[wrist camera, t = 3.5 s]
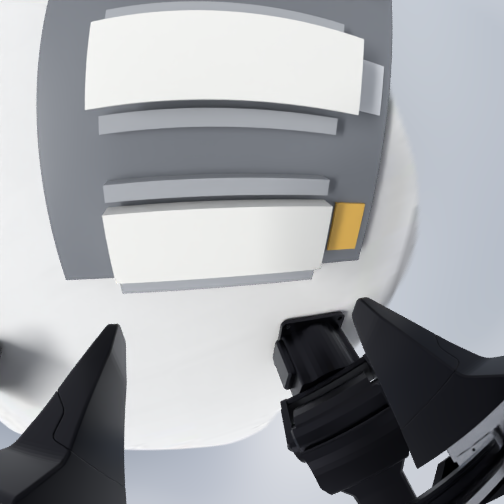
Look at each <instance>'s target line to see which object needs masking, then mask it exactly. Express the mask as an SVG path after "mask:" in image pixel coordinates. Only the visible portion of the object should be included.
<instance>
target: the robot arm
mask: <svg viewBox="0 0 504 504" xmlns="http://www.w3.org/2000/svg"><path fill="white" fill-rule="evenodd" d="M352 319H353V322H354V325H355V327H356V330H357V333H358V335H359V338H360V341H361V343H362V346H363V348H364V351H365V353H366V354H364V355H363V357H361V358H359V356H358V355H357V353H356V352H355V350H354V348H353V347H352V345H351V344H350V342H349V340H348V339H347V337H346V336H345V334H344V333H343V331H342V329H341V325H342V322H343V320H344V315H343V313H342V312H336V313H331V314H325V315H319V316H313V317H306V318H300V319H293V320H286V321H284V322H282V323H281V326H280V332H279V337H278V340H277V341H276V343H275V348H274V354H273V360H274V364H275V366H276V368H277V371H278V373H279V376H280V379H281V381H282V384H283V387H284V388H285V389H286V390H288V389H290V390H291V392H292V395H293V397H291V398H289V399H285V400H282V401H281V402H280V403H281V408H282V409H281V413H282V418H283V423H284V429H285V434H286V440H287V447H288V449H289V450H290V451H292V452H294V454H295V455H296V457H297V458H298V459H299V460H300V461H301V462H304V463H305V462H306V463H307V464H308V465H309V467H310V469H311V470H312V472H313V474H314V476H315V478H316V480H317V482H318V484H319V486H320V488H321V489H322V490H324V491H326V492H327V493H329V494H331V495H333V494H335V493H338V492H340V491H341V492H344V493H346V494H349V495H351V496H353V497H354V498H355V500H356V501H357V502H358V504H486V503H488V502H490V501H492V500H494V499H497V498H498V497H500V496H502V495H504V356H500V357H494V358H485V357H481V356H478V355H476V354H474V353H472V352H470V351H467V350H465V349H463V348H461V347H459V346H457V345H455V344H453V343H451V342H449V341H447V340H445V339H443V338H441V337H439V336H438V335H435V334H434V333H432V332H430V331H429V330H427V329H425V328H423V327H421V326H419V325H418V324H416V323H414V322H412V321H410V320H408V319H407V318H405V317H403V316H401V315H399V314H397V313H395V312H394V311H392V310H390V309H388V308H386V307H384V306H383V305H381V304H379V303H377V302H375V301H373V300H371V299H370V298H367V297H364V298H359V299H358V300H357V301H356V304H355V307H354V310H353V313H352ZM373 379H374V380H373ZM371 380H373V381H372V382H370V381H371ZM126 385H127V380H126V343H125V339H124V336H123V333H122V330H121V327H120V325H119V324H108V325H107V326H106V327H105V328H104V330H103V331H102V332H101V333H100V335H99V336H98V337H97V338H96V340H95V341H94V342H93V343H92V345H91V346H90V347H89V349H88V350H87V351H86V352H85V354H84V355H83V356H82V358H81V359H80V360H79V361H78V363H77V364H76V365H75V367H74V368H73V369H72V371H71V372H70V373H69V375H68V376H67V377H66V379H65V380H64V382H63V383H62V384H61V386H60V387H59V388H58V391H56V392H55V394H54V395H53V397H52V398H51V399H50V401H49V402H48V403H47V405H46V406H45V408H44V409H43V410H42V411H41V412H40V414H39V415H38V416H37V417H36V419H35V420H34V421H33V422H32V423H31V424H30V426H29V427H28V428H27V429H26V430H25V431H24V433H23V434H22V435H21V436H20V437H19V439H18V440H17V441H16V442H15V443H14V444H12V445H11V446H9V447H7V448H5V449H1V450H0V504H126V492H125V474H124V422H125V401H126ZM409 450H410V453H411V455H412V458H413V460H414V463H415V465H416V467H417V469H418V468H420V467H421V466H423V465H424V464H426V463H428V462H429V461H430V460H432V459H434V458H435V457H437V456H438V455H439V454H441V453H442V452H444V451H445V450H447V452H448V453H449V455H450V456H448V457H447V458H446V459H445V460H443V461H442V462H440V463H439V464H438V467H437V471H436V474H435V479H434V482H433V486H432V488H430V489H429V490H428V491H426V492H425V493H423V494H422V495H420V496H419V497H416V495H415V493H414V491H413V490H412V487H411V485H410V483H409V481H408V479H407V478H406V476H405V474H404V472H403V466H404V460H405V458H407V457H408V456H409Z"/></svg>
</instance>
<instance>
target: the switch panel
mask: <svg viewBox="0 0 504 504" xmlns="http://www.w3.org/2000/svg"><path fill="white" fill-rule="evenodd" d="M178 10H214V11H232V12H244V13H253V14H261V15H269V16H275V17H281V18H287V19H292V20H297V21H302V22H306V23H310V24H315V25H319V26H323V27H326V28H330V29H334V30H337V31H340V32H344V33H347V34H350V35H353V36H356V37H359V38H362V39H364V53H363V71H362V84H361V95H360V106H359V115H354V114H347V113H342V112H336V111H331V110H325V109H319V108H312V107H305V106H297V105H289V104H279V103H268V102H255V101H236V100H179V101H160V102H147V103H136V104H127V105H119V106H112V107H105V108H98V109H92V110H85V78H86V61H87V50H88V40H89V32H90V25H91V22H93V21H98V20H102V19H107V18H113V17H119V16H125V15H132V14H140V13H149V12H160V11H178ZM391 60H392V0H49V1H48V5H47V9H46V14H45V19H44V24H43V30H42V37H41V44H40V52H39V62H38V75H37V134H38V148H39V158H40V167H41V175H42V182H43V188H44V194H45V200H46V205H47V210H48V215H49V220H50V224H51V229H52V233H53V237H54V241H55V244H56V248H57V252H58V255H59V259H60V262H61V266H62V269H63V272H64V275H65V278H66V280H78V279H99V278H114V274H113V270H112V265H111V261H110V256H109V251H108V246H107V241H106V236H105V230H104V224H103V218H102V215H103V213H104V212H105V210H106V209H107V208H108V207H119V206H131V205H144V204H158V203H175V202H194V201H219V200H261V199H313V200H325V201H326V202H328V203H329V204H330V205H331V206H333V208H332V214H331V219H330V225H329V230H328V235H327V240H326V245H325V250H324V255H323V259H322V263H330V262H341V261H352V260H358V259H359V255H360V251H361V248H362V244H363V240H364V236H365V232H366V228H367V224H368V220H369V215H370V211H371V206H372V202H373V197H374V192H375V187H376V182H377V177H378V172H379V166H380V160H381V154H382V148H383V141H384V134H385V127H386V119H387V111H388V101H389V90H390V77H391ZM313 271H314V270H305V271H294V272H283V273H272V274H260V275H247V276H234V277H221V278H207V279H193V280H177V281H161V282H144V283H125V284H120V285H121V289H122V293H123V294H124V293H144V292H162V291H178V290H193V289H207V288H220V287H232V286H244V285H256V284H267V283H277V282H288V281H298V280H307V279H312V275H313Z"/></svg>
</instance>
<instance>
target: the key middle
mask: <svg viewBox="0 0 504 504" xmlns="http://www.w3.org/2000/svg"><path fill="white" fill-rule="evenodd" d="M363 53H364V39H362V38H359V37H356V36H353V35H350V34H347V33H344V32H340V31H337V30H334V29H330V28H326V27H323V26H319V25H315V24H310V23H306V22H302V21H297V20H292V19H287V18H281V17H275V16H269V15H261V14H253V13H244V12H232V11H214V10H178V11H160V12H149V13H140V14H132V15H125V16H119V17H113V18H107V19H102V20H98V21H93V22H91V25H90V32H89V40H88V50H87V61H86V78H85V110H92V109H98V108H105V107H112V106H119V105H127V104H136V103H147V102H160V101H179V100H236V101H255V102H268V103H279V104H289V105H297V106H305V107H312V108H319V109H325V110H331V111H336V112H342V113H347V114H354V115H359V106H360V95H361V84H362V71H363Z"/></svg>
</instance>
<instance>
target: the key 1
mask: <svg viewBox="0 0 504 504" xmlns="http://www.w3.org/2000/svg"><path fill="white" fill-rule="evenodd" d="M332 208H333V206H331V205H330V204H329V203H328V202H326V201H325V200H313V199H261V200H219V201H194V202H175V203H158V204H144V205H131V206H119V207H108V208H107V209H106V210H105V212H104V213H103V215H102V218H103V224H104V230H105V236H106V241H107V246H108V251H109V256H110V261H111V265H112V270H113V274H114V278H115V282H116V284H125V283H144V282H161V281H177V280H193V279H207V278H221V277H234V276H247V275H260V274H272V273H283V272H294V271H305V270H316V269H321V264H322V259H323V255H324V250H325V245H326V240H327V235H328V230H329V225H330V219H331V214H332Z"/></svg>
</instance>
